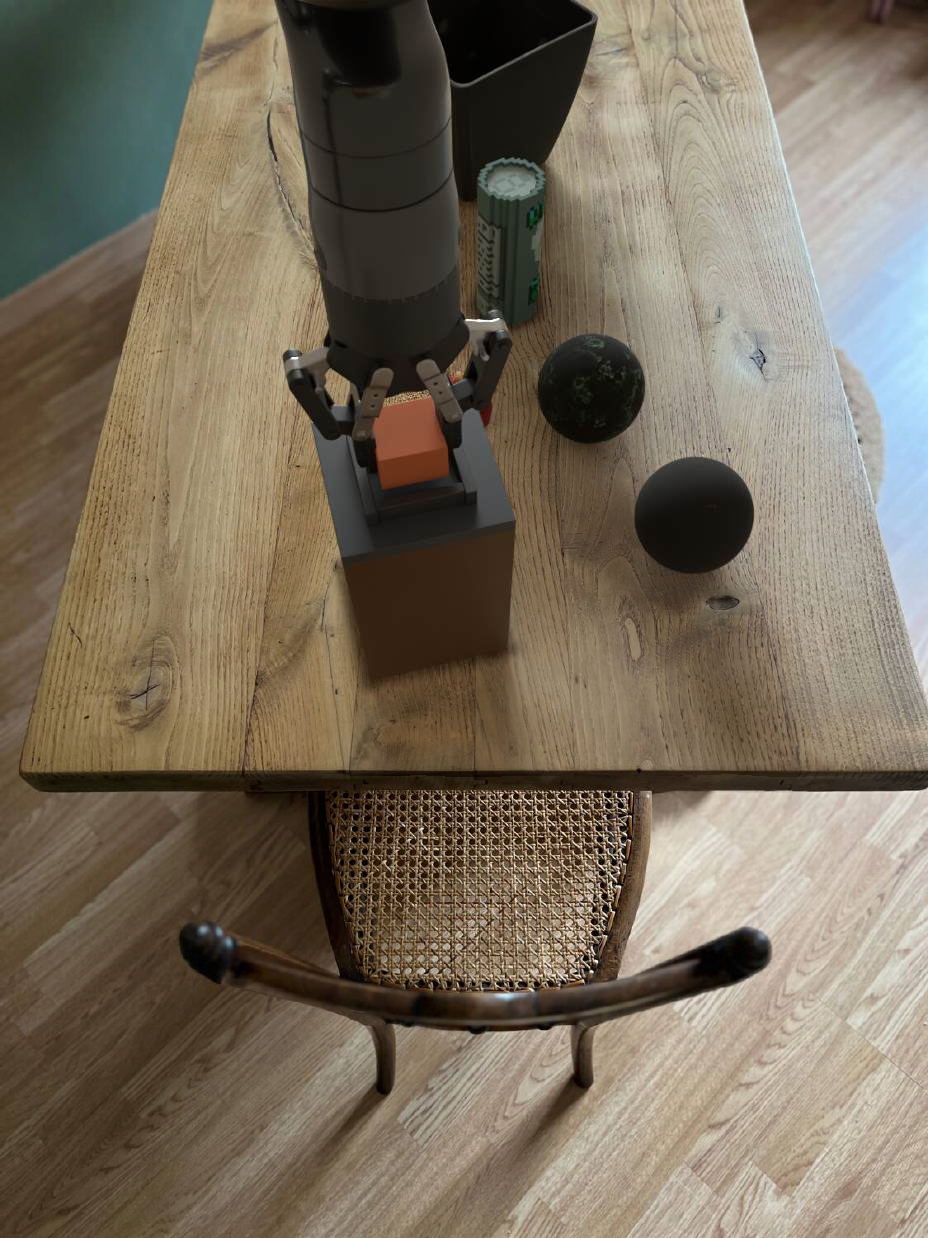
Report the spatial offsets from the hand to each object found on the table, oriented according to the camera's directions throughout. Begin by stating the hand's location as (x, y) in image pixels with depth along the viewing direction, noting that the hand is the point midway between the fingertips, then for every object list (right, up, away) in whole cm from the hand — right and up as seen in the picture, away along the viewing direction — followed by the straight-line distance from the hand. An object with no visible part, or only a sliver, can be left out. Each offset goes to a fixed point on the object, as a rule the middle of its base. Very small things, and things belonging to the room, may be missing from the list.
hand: (408, 454), depth 62 cm
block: (0, 0, 0) cm, 0 cm away
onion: (+4, +7, +28) cm, 29 cm away
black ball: (+23, -5, +21) cm, 32 cm away
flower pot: (+5, +44, +48) cm, 66 cm away
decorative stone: (+16, +8, +28) cm, 33 cm away
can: (+8, +22, +36) cm, 43 cm away
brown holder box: (0, -10, +18) cm, 21 cm away
